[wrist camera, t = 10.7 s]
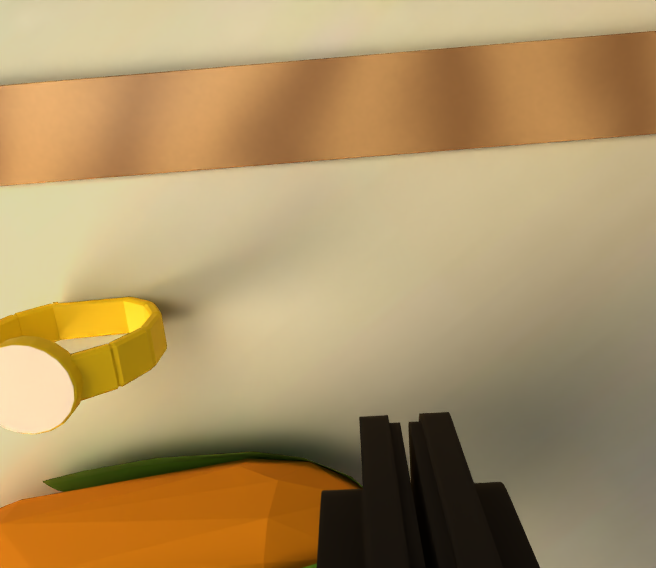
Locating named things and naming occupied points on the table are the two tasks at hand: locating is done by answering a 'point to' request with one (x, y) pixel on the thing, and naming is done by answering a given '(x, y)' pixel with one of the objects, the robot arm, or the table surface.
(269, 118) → the ruler
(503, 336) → the table surface
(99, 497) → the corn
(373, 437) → the robot arm
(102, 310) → the watch
